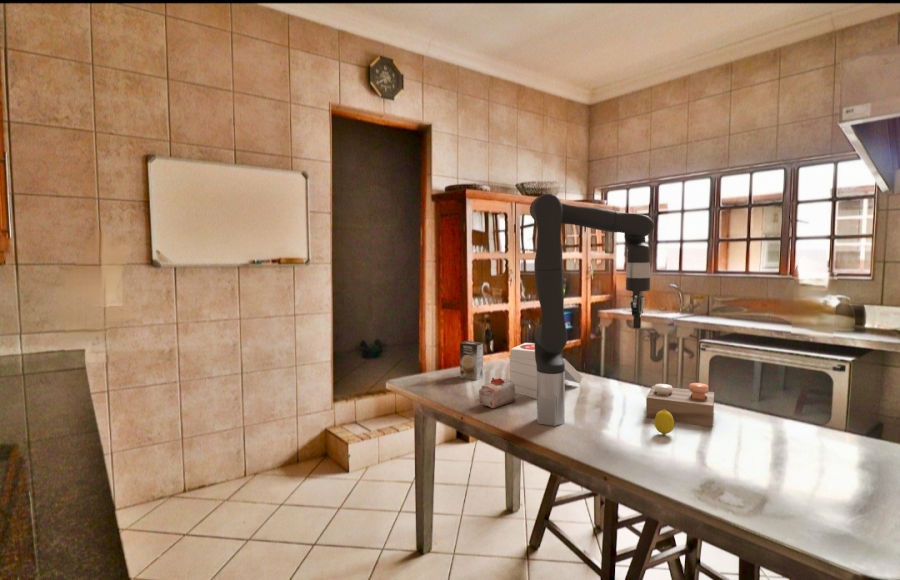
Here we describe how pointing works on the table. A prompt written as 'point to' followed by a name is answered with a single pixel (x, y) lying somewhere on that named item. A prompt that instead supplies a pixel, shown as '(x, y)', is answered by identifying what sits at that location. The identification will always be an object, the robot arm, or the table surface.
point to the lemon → (664, 422)
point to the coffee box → (471, 360)
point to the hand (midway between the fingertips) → (637, 328)
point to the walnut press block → (682, 406)
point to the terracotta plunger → (698, 390)
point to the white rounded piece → (663, 389)
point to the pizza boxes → (531, 370)
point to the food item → (497, 393)
